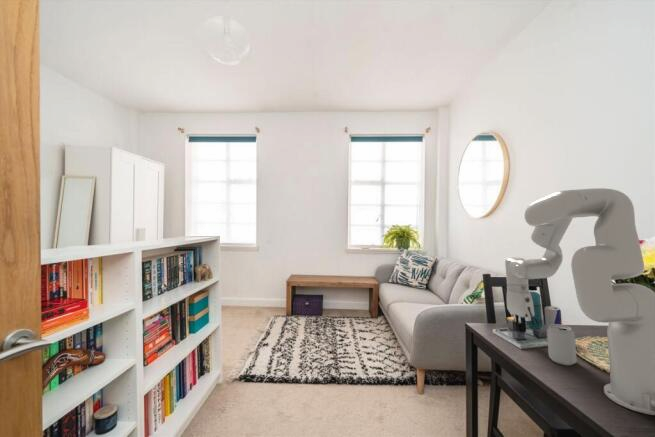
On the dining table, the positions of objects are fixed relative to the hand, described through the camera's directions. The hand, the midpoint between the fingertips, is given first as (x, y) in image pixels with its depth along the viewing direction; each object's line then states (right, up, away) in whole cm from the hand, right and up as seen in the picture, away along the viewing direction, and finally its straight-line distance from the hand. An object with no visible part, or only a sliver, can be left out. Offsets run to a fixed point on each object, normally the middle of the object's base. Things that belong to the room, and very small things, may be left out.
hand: (521, 331), depth 117 cm
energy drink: (+14, -2, -1) cm, 14 cm away
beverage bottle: (+11, -3, +8) cm, 14 cm away
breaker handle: (0, -1, +4) cm, 4 cm away
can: (+1, -3, -19) cm, 19 cm away
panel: (0, -3, 0) cm, 3 cm away
